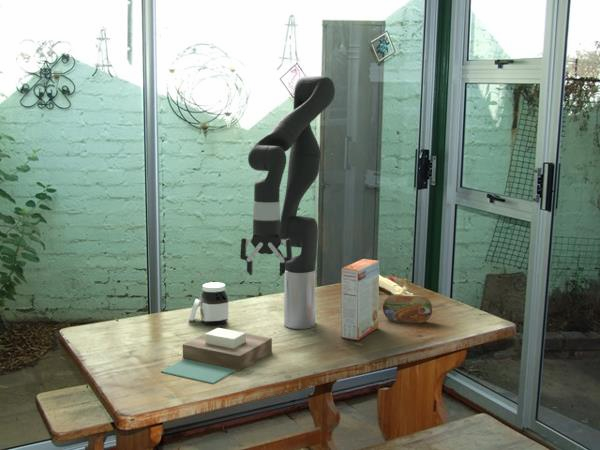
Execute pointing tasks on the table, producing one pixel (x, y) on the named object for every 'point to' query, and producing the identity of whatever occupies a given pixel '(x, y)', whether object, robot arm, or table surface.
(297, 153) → the robot arm
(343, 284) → the cracker box
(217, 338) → the tile
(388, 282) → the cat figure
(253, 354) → the brown wooden board
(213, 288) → the spread jar
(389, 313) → the tin
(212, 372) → the mat
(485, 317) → the table surface
